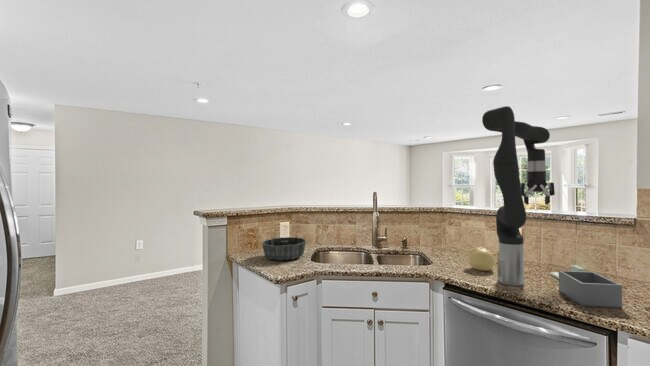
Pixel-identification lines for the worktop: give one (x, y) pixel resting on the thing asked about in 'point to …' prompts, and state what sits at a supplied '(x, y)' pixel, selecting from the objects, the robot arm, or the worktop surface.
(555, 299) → the worktop surface
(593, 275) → the tub
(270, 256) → the bundt pan
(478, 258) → the sculpture
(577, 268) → the lid
